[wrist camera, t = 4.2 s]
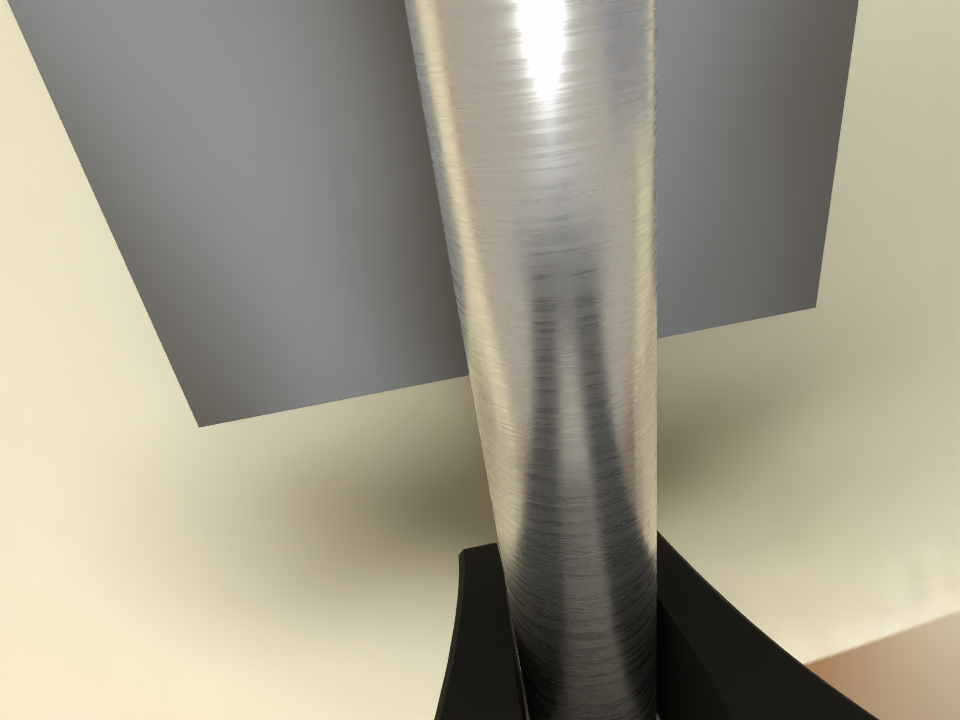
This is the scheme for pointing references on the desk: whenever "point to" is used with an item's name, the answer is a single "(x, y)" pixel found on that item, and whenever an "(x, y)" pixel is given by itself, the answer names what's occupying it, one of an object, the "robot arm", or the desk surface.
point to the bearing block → (405, 179)
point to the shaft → (558, 320)
